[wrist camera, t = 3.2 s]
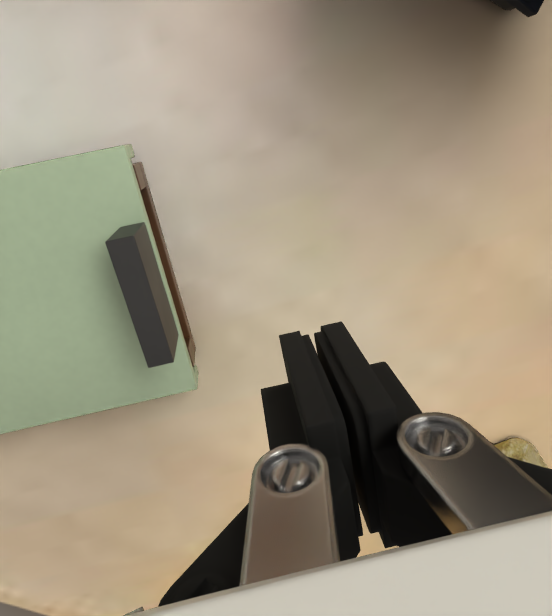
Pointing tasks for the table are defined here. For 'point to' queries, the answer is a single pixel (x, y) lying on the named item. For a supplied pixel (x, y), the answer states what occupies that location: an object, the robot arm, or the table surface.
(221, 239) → the table surface
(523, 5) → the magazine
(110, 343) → the lid
